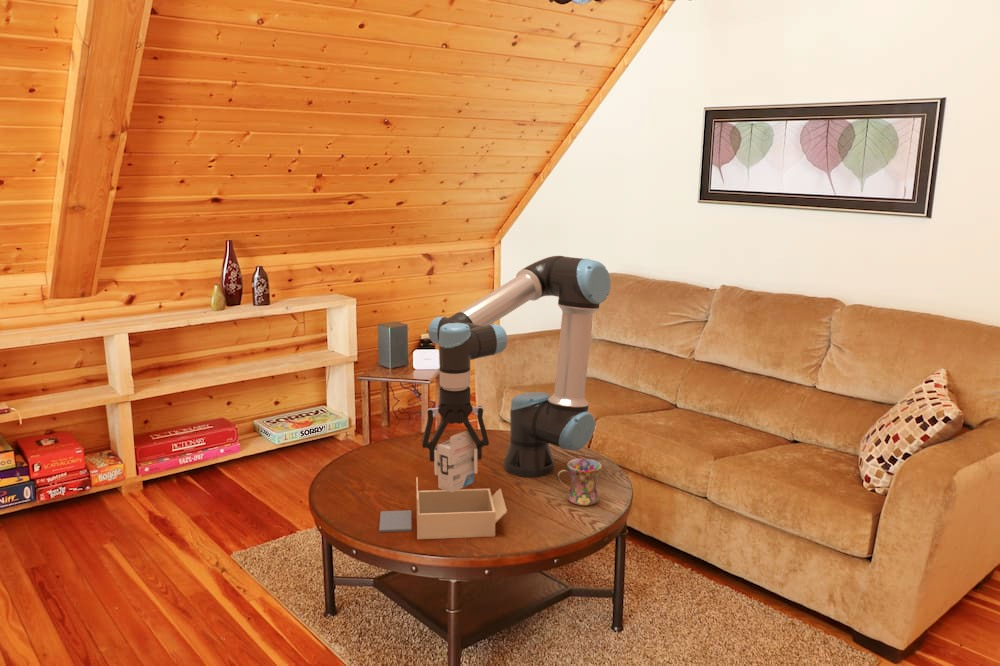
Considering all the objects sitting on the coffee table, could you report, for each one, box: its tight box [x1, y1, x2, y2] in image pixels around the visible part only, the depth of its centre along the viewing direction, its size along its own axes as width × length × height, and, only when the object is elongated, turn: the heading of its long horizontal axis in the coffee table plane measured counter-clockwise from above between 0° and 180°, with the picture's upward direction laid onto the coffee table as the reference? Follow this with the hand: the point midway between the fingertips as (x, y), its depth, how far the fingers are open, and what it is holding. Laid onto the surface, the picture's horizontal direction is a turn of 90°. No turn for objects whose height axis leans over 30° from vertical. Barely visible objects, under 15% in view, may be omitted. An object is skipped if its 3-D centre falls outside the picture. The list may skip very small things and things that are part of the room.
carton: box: [415, 476, 508, 540], centre depth 209 cm, size 22×17×10 cm
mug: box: [557, 458, 603, 506], centre depth 223 cm, size 12×9×11 cm
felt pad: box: [378, 509, 412, 533], centre depth 210 cm, size 8×11×1 cm
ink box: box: [436, 430, 475, 492], centre depth 205 cm, size 8×5×15 cm, turn 140°
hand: (455, 472), depth 205 cm, fingers closed on ink box, 9 cm apart
